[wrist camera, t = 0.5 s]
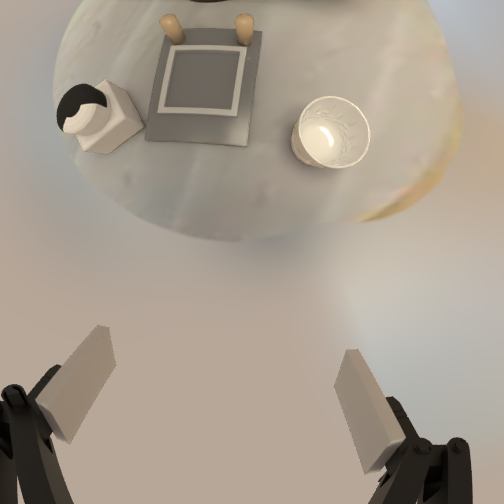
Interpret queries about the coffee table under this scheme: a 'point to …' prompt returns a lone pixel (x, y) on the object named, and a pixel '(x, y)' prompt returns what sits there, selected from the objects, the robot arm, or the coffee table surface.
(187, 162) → the coffee table surface
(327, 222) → the coffee table surface
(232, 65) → the peg board
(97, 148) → the medicine bottle
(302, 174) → the coffee table surface
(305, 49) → the coffee table surface
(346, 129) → the white cup
